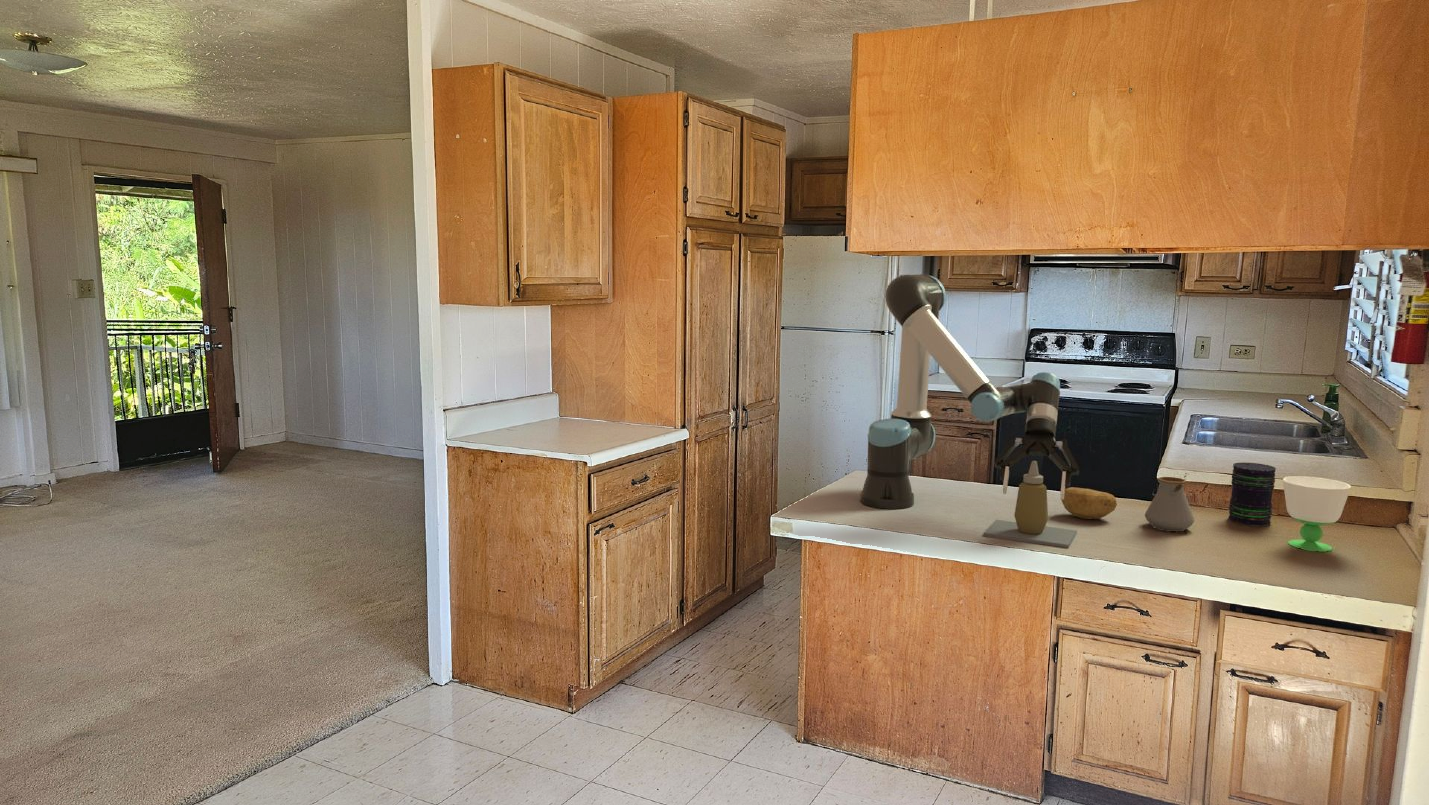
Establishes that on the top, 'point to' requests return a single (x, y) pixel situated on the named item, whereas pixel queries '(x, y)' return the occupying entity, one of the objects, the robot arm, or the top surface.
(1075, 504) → the potato
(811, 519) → the top surface
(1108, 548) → the top surface
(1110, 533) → the top surface
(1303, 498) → the cup
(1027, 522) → the squeeze bottle
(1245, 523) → the storage jar
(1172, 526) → the coffee pot
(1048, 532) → the rubber mat
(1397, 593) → the top surface
